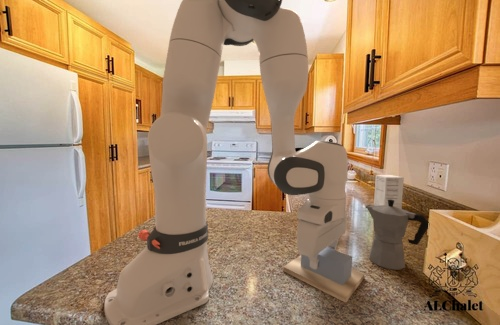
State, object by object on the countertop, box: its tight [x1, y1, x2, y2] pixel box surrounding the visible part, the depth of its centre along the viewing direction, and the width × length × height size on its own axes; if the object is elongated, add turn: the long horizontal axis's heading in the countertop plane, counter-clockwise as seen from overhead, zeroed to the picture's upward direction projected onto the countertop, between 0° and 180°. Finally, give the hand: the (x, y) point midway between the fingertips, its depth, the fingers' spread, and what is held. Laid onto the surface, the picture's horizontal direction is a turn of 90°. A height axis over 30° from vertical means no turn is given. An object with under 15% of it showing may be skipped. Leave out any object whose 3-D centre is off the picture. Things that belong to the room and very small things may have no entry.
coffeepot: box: [365, 200, 430, 271], centre depth 61 cm, size 15×9×18 cm, turn 39°
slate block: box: [300, 246, 353, 285], centre depth 55 cm, size 5×5×11 cm
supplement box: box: [373, 174, 405, 209], centre depth 115 cm, size 10×9×17 cm
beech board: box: [282, 254, 365, 303], centre depth 56 cm, size 12×16×1 cm
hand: (323, 260), depth 56 cm, fingers open, 8 cm apart
